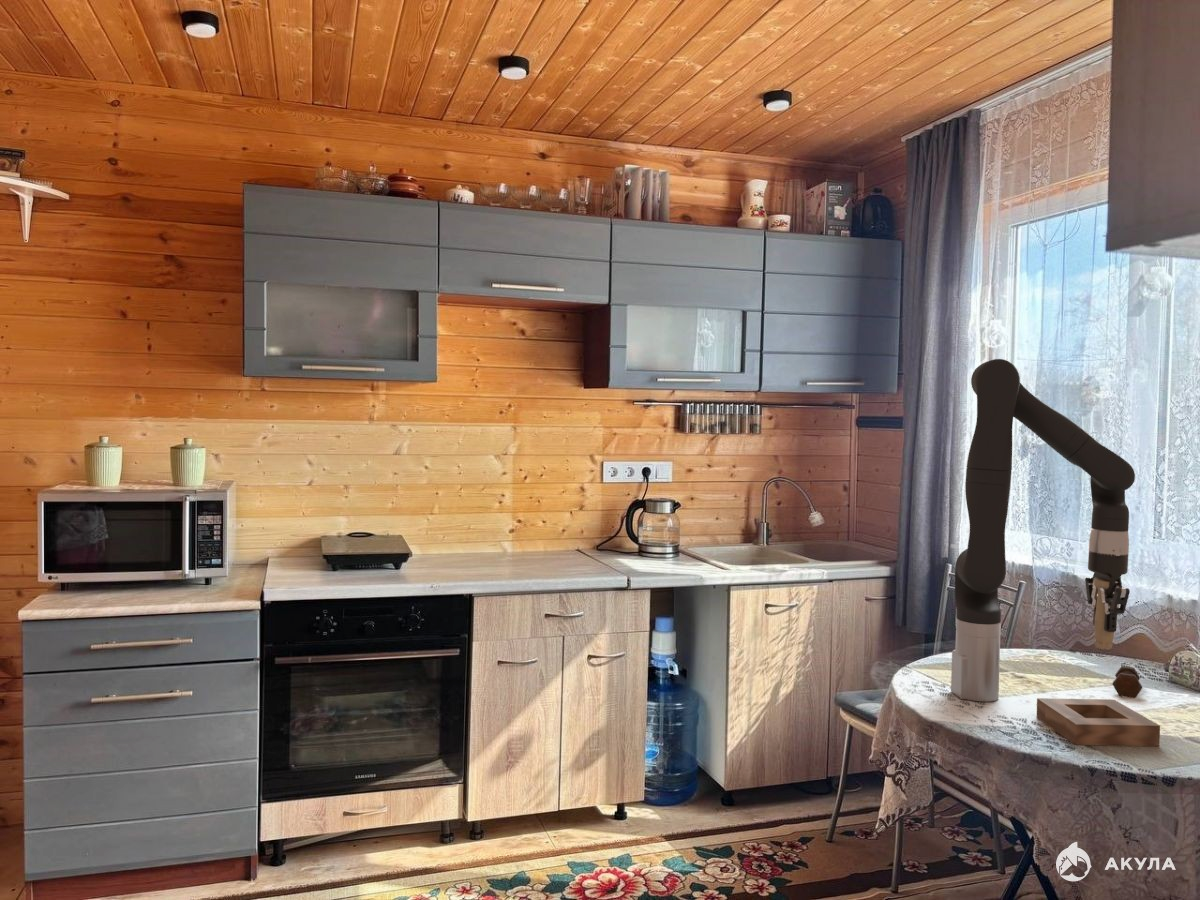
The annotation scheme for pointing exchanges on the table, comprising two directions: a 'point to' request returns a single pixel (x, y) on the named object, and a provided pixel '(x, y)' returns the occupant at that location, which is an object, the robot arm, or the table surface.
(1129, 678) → the dark brown hexagonal dumbbell
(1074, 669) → the table surface
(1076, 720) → the socket block
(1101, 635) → the handle
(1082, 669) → the table surface
